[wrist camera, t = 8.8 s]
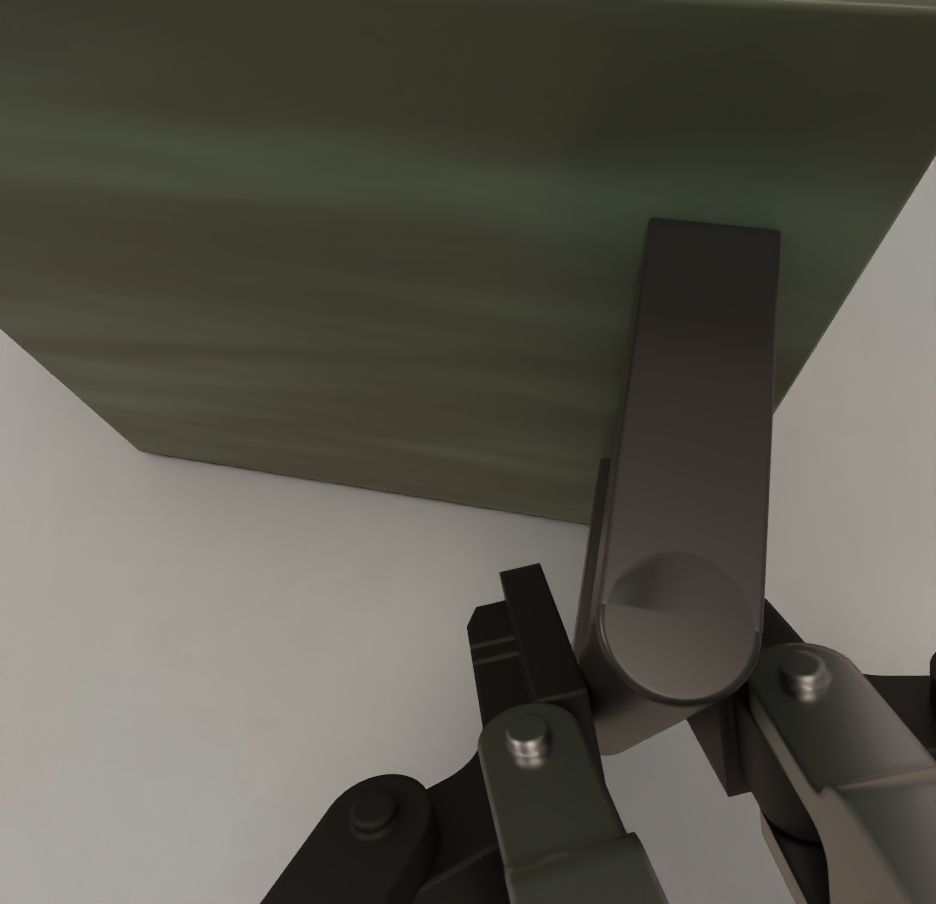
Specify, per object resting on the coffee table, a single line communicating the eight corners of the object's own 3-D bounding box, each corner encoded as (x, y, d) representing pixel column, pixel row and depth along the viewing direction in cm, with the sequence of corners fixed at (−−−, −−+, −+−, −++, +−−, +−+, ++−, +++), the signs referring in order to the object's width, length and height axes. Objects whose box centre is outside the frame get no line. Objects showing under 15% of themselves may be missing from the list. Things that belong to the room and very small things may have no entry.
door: (674, 779, 17) (1128, 721, 4) (56, 648, 20) (-907, 348, 7) (697, 514, 20) (1020, -46, 7) (148, 427, 23) (-411, -109, 9)
